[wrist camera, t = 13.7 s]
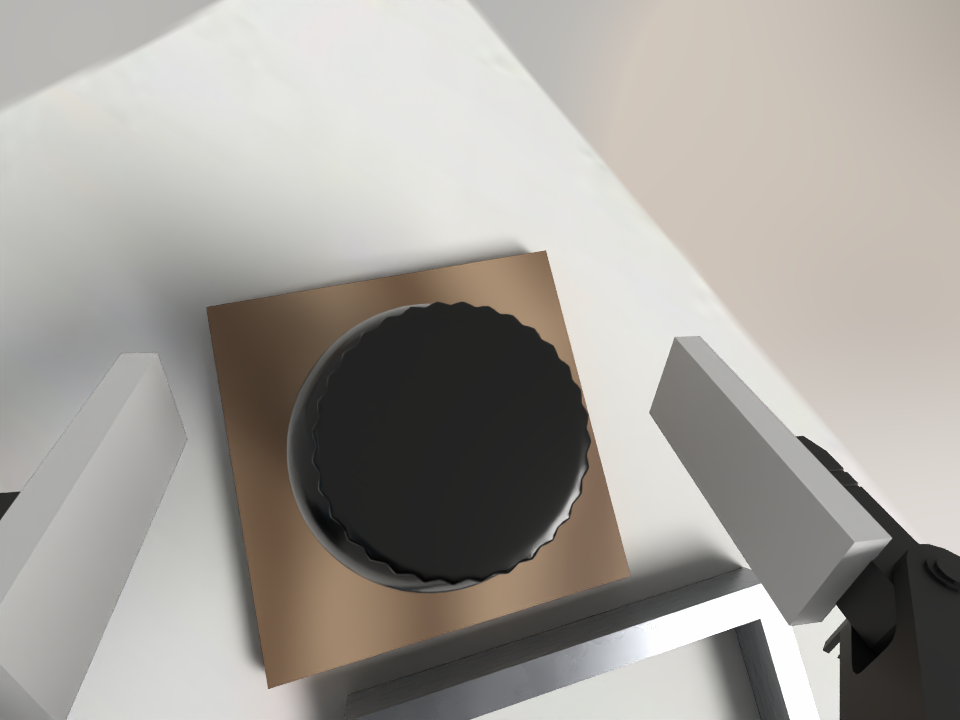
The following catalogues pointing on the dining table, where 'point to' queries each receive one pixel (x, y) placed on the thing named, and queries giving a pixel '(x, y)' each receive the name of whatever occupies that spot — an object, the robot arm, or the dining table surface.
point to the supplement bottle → (437, 446)
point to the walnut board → (274, 512)
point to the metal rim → (609, 656)
